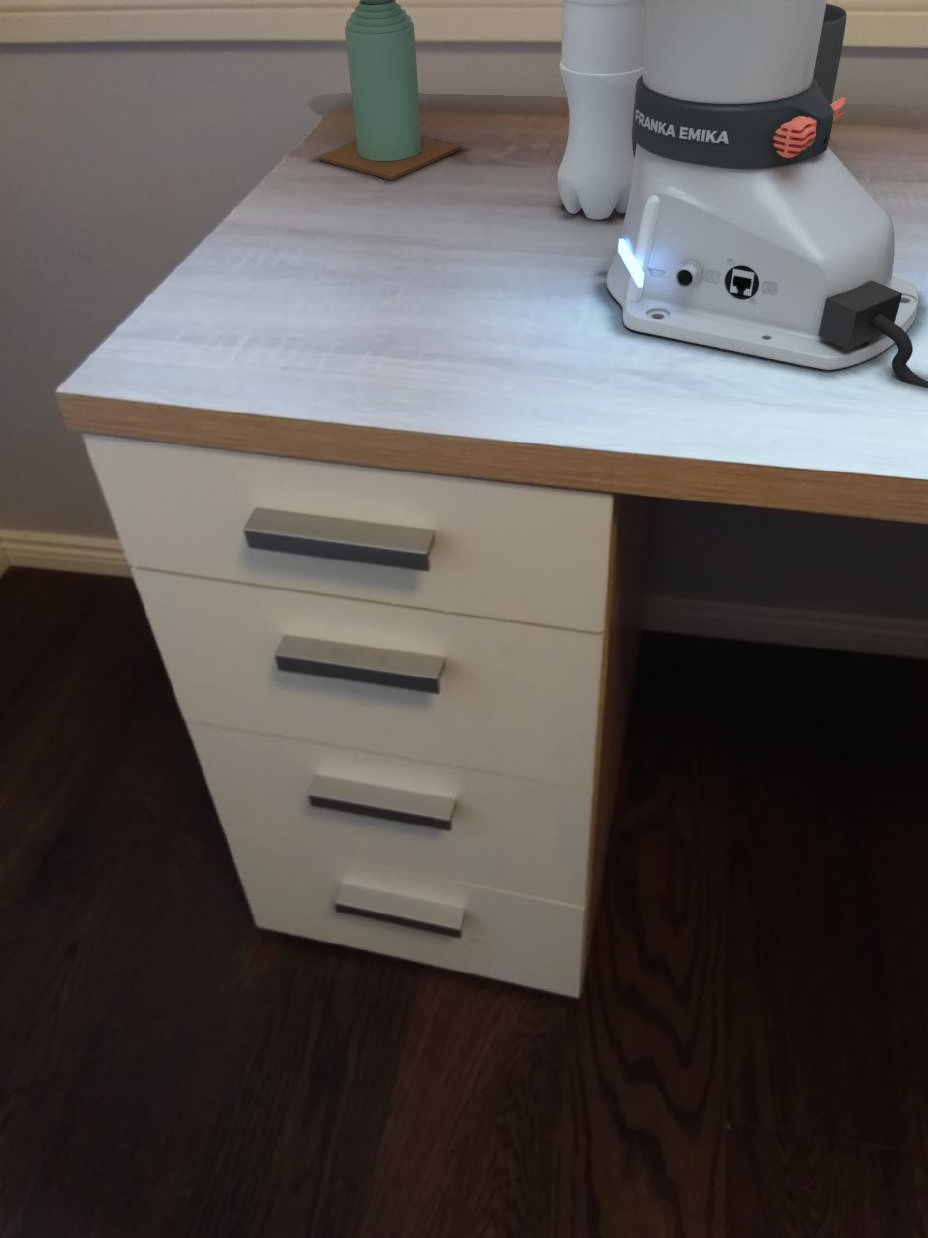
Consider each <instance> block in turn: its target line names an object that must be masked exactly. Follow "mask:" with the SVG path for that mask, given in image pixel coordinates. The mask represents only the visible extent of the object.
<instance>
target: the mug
mask: <svg viewBox="0 0 928 1238" xmlns="http://www.w3.org/2000/svg"><path fill="white" fill-rule="evenodd" d="M847 16H848V15H847V11H846V10H845V9H844V8H843V7H840V6H837V5H834V4H831V3H826V8H825V13H824V19H823V24H822V30H821V35H820V41H819V46H818V52H817V58H816V63H815V69H814V75H813V77H814V79H815V80H816V82H817V84H818V87H819V89H820V91H821V92H822V94H823V95H824V97H825V98H826V100H827V101H828V103H829V104H832V103H833V98H834V95H835V89H836V83H837V78H838V73H839V67H840V62H841V55H842V52H843V51H842V50H843V44H844V38H845V32H846V31H845V30H846V27H847V26H846V25H847V18H848V17H847Z"/></svg>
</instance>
